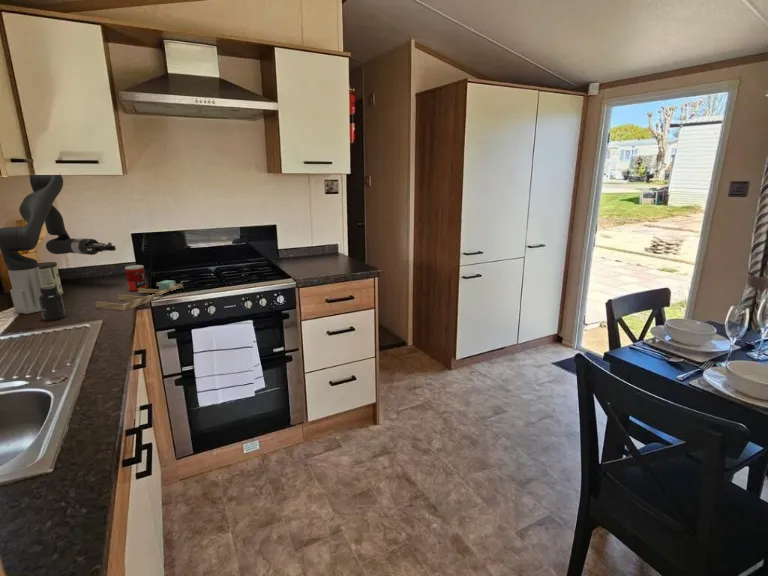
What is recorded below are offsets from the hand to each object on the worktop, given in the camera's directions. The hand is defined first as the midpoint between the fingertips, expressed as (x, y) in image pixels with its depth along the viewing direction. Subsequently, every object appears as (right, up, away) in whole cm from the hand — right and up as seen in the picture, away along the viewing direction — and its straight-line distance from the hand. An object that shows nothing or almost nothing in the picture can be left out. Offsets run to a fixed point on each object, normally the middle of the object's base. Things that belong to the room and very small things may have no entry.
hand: (114, 248), depth 194 cm
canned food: (+10, -19, +2) cm, 22 cm away
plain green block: (+26, -20, -2) cm, 33 cm away
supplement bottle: (+1, -30, -36) cm, 47 cm away
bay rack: (+19, -23, -11) cm, 32 cm away
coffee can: (-26, -22, -5) cm, 34 cm away
